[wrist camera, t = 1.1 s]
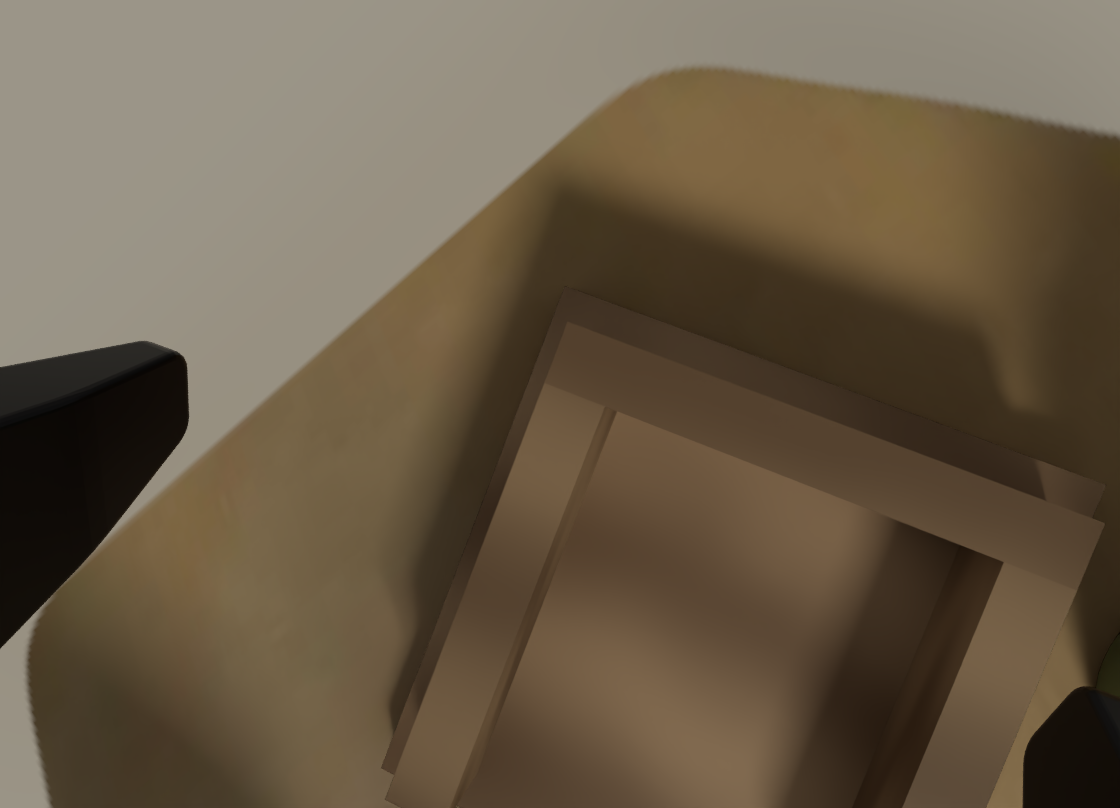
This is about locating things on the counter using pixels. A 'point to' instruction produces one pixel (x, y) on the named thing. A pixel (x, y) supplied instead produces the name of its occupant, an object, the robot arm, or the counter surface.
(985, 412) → the counter surface
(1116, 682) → the green bottle
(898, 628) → the bottle rest
